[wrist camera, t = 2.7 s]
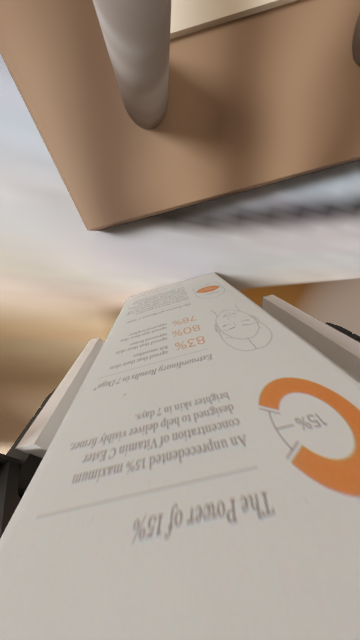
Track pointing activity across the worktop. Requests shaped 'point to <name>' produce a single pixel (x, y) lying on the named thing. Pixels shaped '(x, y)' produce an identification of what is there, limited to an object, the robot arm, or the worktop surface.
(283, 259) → the worktop surface
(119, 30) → the stub base plate
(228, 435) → the small box
